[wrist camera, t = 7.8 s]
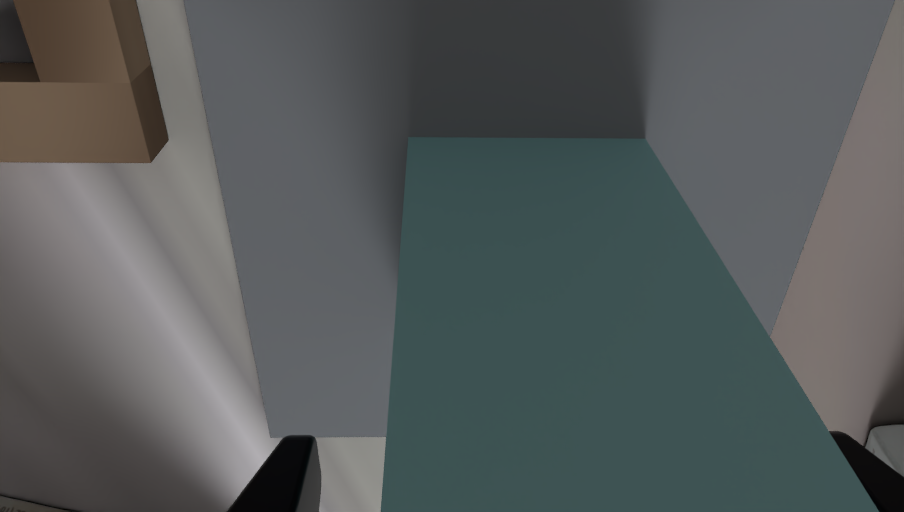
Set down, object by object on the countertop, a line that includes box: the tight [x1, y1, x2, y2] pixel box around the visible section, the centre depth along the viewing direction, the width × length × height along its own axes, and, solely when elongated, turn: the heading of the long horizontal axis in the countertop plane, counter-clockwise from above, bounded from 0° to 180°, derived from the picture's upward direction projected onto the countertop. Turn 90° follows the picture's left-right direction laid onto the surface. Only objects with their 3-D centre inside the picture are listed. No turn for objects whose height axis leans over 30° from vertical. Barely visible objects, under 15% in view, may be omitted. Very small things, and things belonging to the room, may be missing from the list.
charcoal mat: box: [184, 0, 895, 438], centre depth 14 cm, size 12×12×1 cm
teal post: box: [381, 137, 879, 512], centre depth 10 cm, size 4×4×10 cm
